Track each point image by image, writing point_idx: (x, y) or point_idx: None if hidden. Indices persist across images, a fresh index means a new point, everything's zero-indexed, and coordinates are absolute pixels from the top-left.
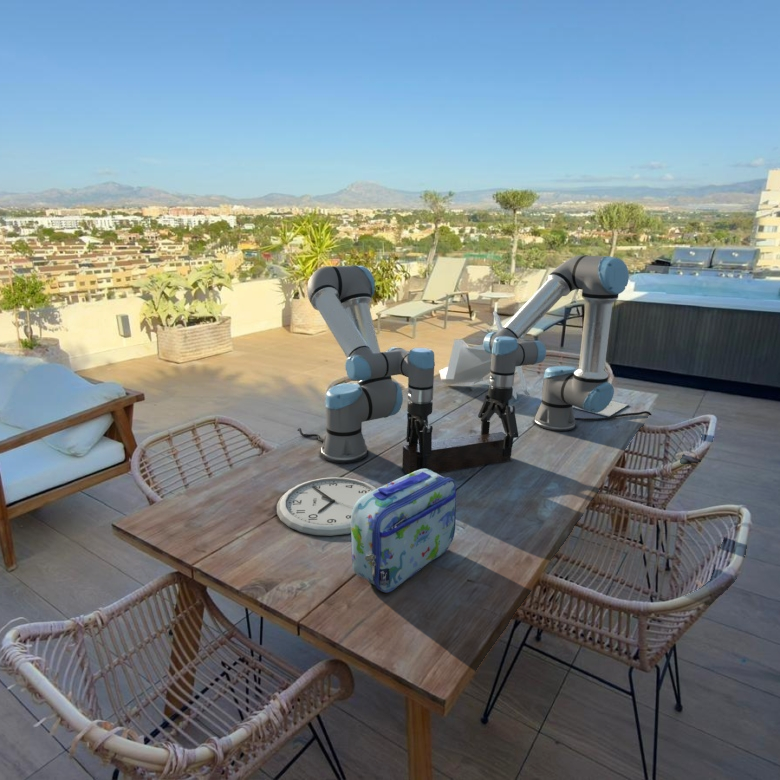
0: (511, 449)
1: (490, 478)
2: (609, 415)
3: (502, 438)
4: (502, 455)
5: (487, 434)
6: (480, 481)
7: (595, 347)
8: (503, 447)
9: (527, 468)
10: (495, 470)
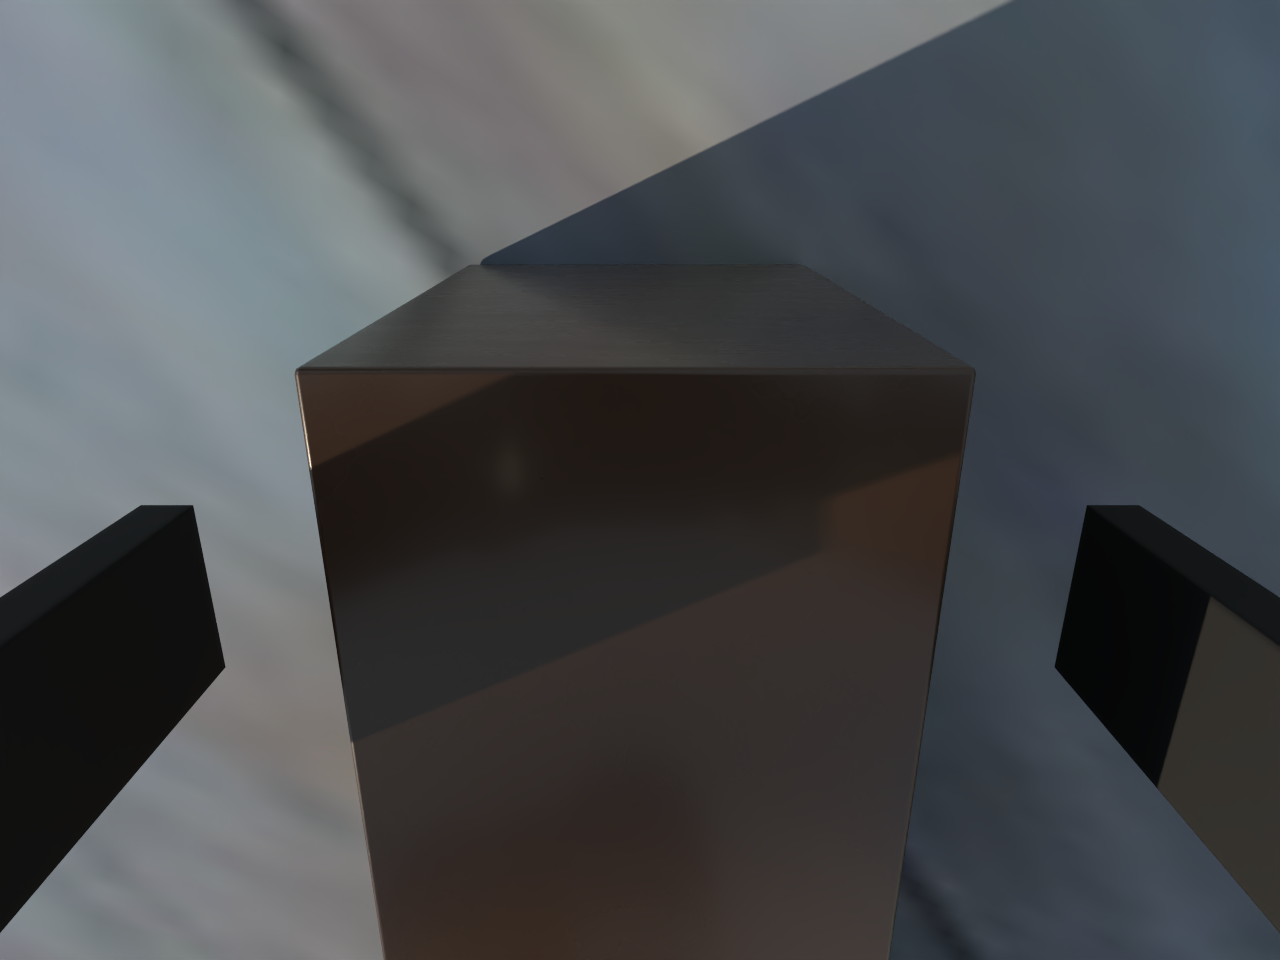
0: (1240, 576)
1: (1139, 829)
2: None
3: (841, 673)
4: (1060, 671)
5: (412, 886)
6: (1134, 952)
7: None
8: (1177, 800)
9: (1206, 137)
10: (986, 667)
